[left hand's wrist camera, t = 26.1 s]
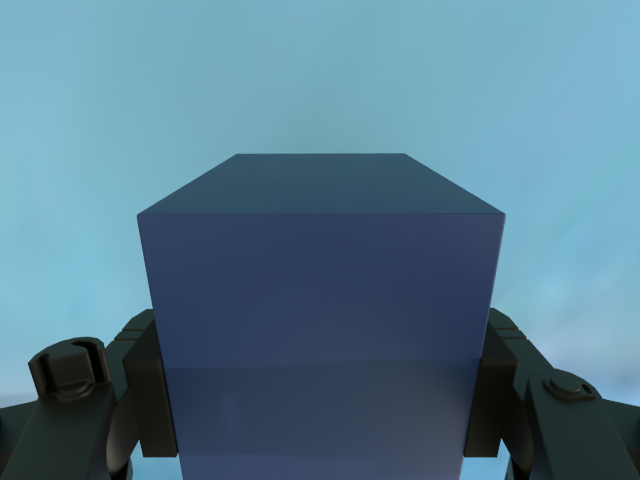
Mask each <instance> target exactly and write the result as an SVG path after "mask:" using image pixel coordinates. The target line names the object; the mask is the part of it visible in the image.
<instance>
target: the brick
mask: <svg viewBox="0 0 640 480" xmlns="http://www.w3.org/2000/svg"><path fill="white" fill-rule="evenodd" d="M505 218H506V215H505V213H503V212H501V211H500V210H498V209H496V208H495V207H493V206H491V205H490V204H488V203H486V202H485V201H483V200H481V199H480V198H478V197H476V196H475V195H473V194H471V193H470V192H468V191H466V190H465V189H463V188H461V187H460V186H458V185H456V184H455V183H453V182H451V181H450V180H448V179H446V178H445V177H443V176H441V175H440V174H438V173H436V172H435V171H433V170H431V169H430V168H428V167H426V166H425V165H423V164H421V163H420V162H418V161H416V160H415V159H413V158H411V157H410V156H408V155H406V154H236V155H234V156H233V157H231V158H229V159H228V160H226V161H224V162H223V163H221V164H219V165H218V166H216V167H215V168H213V169H211V170H210V171H208V172H206V173H205V174H203V175H201V176H200V177H198V178H196V179H195V180H193V181H192V182H190V183H188V184H187V185H185V186H183V187H182V188H180V189H178V190H177V191H175V192H173V193H172V194H170V195H168V196H167V197H165V198H164V199H162V200H160V201H159V202H157V203H155V204H154V205H152V206H150V207H149V208H147V209H145V210H144V211H142V212H141V213H139V214H137V221H138V227H139V233H140V238H141V244H142V250H143V255H144V261H145V267H146V272H147V278H148V283H149V289H150V295H151V300H152V306H153V312H154V317H155V323H156V329H157V334H158V340H159V345H160V351H161V357H162V362H163V368H164V374H165V379H166V385H167V391H168V396H169V402H170V408H171V413H172V419H173V424H174V430H175V436H176V441H177V447H178V453H179V458H180V464H181V470H182V475H183V480H460V476H461V470H462V464H463V458H464V456H463V453H464V447H465V442H466V436H467V430H468V425H469V419H470V413H471V408H472V402H473V396H474V391H475V385H476V379H477V373H478V368H479V362H480V357H481V355H482V350H483V344H484V338H485V333H486V327H487V321H488V315H489V310H490V304H491V298H492V293H493V287H494V281H495V275H496V270H497V264H498V258H499V252H500V247H501V241H502V235H503V230H504V224H505Z"/></svg>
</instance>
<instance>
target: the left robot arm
mask: <svg viewBox="0 0 640 480" xmlns="http://www.w3.org/2000/svg"><path fill="white" fill-rule="evenodd" d="M28 365H29V369H30V372H31V375H32V378H33V381H34V384H35V387H36V390H37V393H38V396H39V397H38V399H37V401H33V402H29V403H24V404H19V405H15V406H10V407H5V408H1V409H0V480H132V475H133V469H132V462H131V458H130V455H131V454H132V452H133V450H134V448H135V446H136V444H137V442H138V441H139V440H140V444H141V449H142V453H143V457H176V456H177V454H178V447H177V441H176V436H175V430H174V424H173V419H172V413H171V408H170V402H169V396H168V391H167V385H166V379H165V374H164V368H163V362H162V357H161V351H160V345H159V340H158V334H157V329H156V323H155V317H154V312H153V309H146V310H144V311H143V312H141V313H140V314H138V315H136V316H135V317H133V318H132V319H131V320H130V321H129V322H128V323H127V324H126V325H125V327H124V328H123V329H122V332H119V333H118V335H117V336H116V337H115V338H114V341H111V343H110V344H109V345H108V346H107V347H106V348H105V347H104V343H103V342H102V341H100V340H99V339H98V338H92V337H78V338H72V339H68V340H64V341H61V342H58V343H56V344H53V345H51V346H49V347H47V348H45V349H44V350H42V351H40V352H39V353H37V354H36V355H35V356H34V357H33V358H32V359H31V360H30V361H29V362H28ZM501 438H502V440H503V442H504V444H505V445H506V447H507V449H508V451H509V453H510V458H509V462H508V466H507V471H506V475H505V479H504V480H640V407H638V406H633V405H629V404H624V403H619V402H615V401H610V400H606V399H603V398H602V397H601V395H600V394H599V393H598V391H597V390H596V389H595V387H593V386H592V385H591V384H589V383H588V382H587V381H585V380H584V379H582V378H580V377H578V376H576V375H574V374H572V373H570V372H566V371H563V370H559V369H554V368H553V367H552V366H551V364H550V363H549V362H548V361H547V360H546V359H545V358H544V356H543V355H542V354H541V353H540V352H539V351H538V350H537V349H536V347H535V346H534V345H533V344H532V343H531V342H530V341H529V340H527V338H526V336H525V335H524V334H523V333H522V331H521V330H519V329H518V327H517V326H516V325H515V324H514V322H513V321H512V320H511V319H510V318H509V317H508V316H506V315H505V314H503V313H501V312H500V311H498V310H496V309H495V308H490V310H489V315H488V321H487V327H486V333H485V338H484V344H483V350H482V355H481V357H480V362H479V368H478V373H477V379H476V385H475V391H474V396H473V402H472V408H471V413H470V419H469V425H468V430H467V436H466V442H465V447H464V453H463V456H464V457H497V455H498V450H499V446H500V441H501Z"/></svg>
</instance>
